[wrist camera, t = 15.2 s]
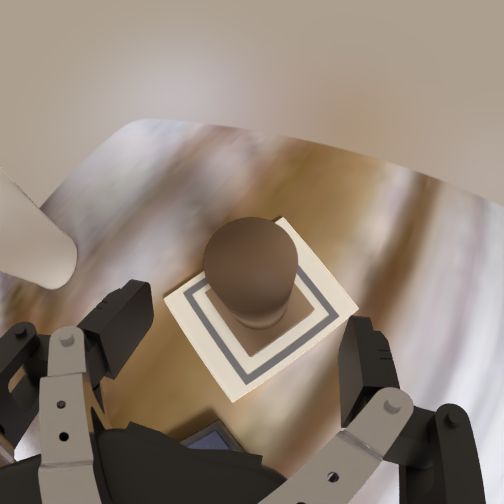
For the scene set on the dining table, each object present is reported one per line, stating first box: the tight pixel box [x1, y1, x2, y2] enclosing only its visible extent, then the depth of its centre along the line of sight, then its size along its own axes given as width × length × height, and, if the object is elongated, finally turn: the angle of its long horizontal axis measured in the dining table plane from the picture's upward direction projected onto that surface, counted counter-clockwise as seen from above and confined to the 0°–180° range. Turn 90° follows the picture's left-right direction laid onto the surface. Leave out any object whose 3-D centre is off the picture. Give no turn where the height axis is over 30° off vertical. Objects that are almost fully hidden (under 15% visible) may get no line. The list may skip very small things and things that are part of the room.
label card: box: [164, 217, 359, 403], centre depth 21 cm, size 11×9×1 cm
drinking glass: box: [0, 167, 77, 289], centre depth 16 cm, size 7×7×15 cm
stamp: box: [203, 217, 314, 357], centre depth 16 cm, size 5×5×10 cm
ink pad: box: [179, 419, 246, 453], centre depth 16 cm, size 9×7×1 cm
